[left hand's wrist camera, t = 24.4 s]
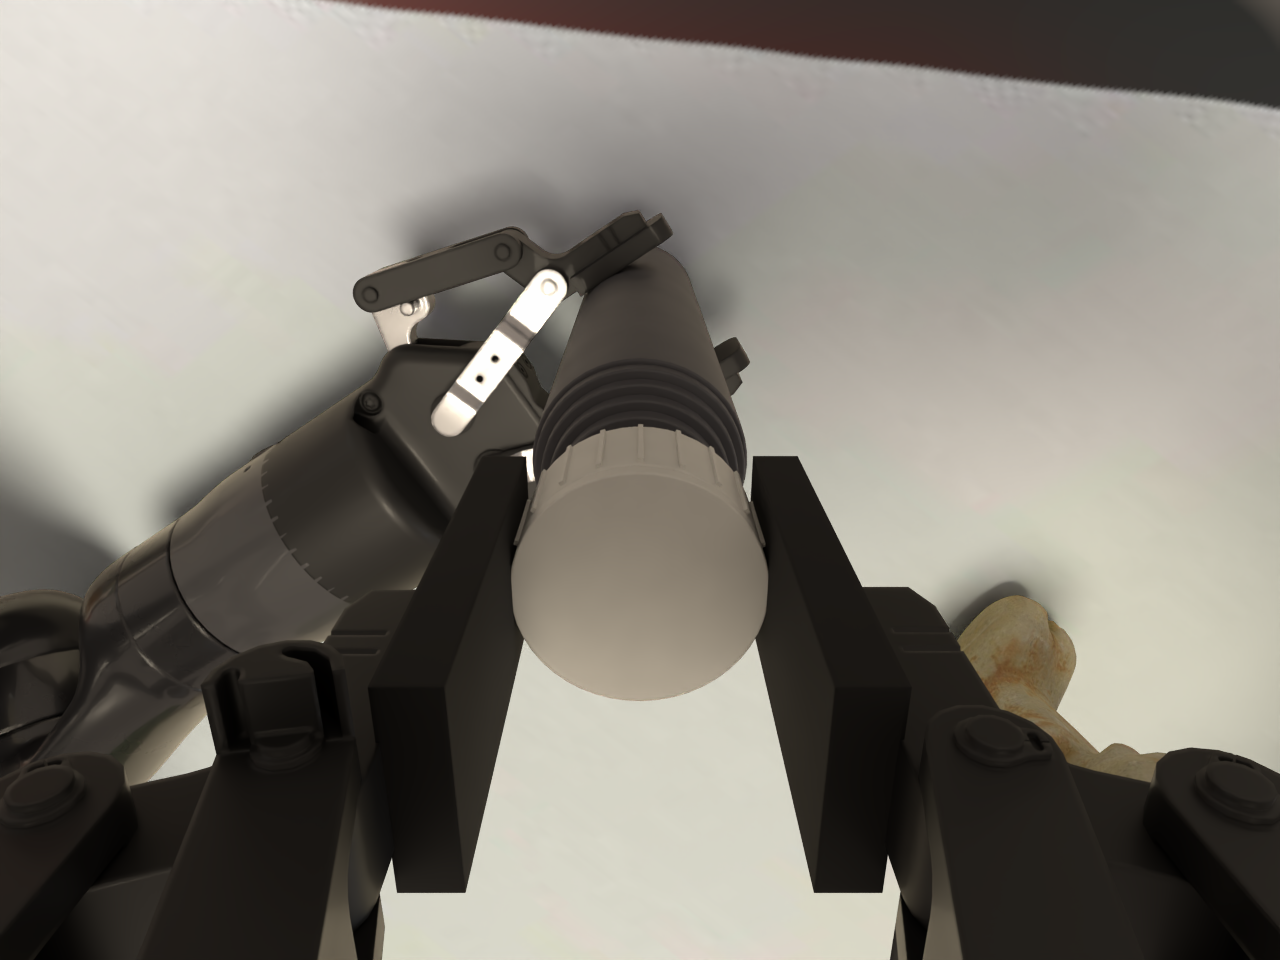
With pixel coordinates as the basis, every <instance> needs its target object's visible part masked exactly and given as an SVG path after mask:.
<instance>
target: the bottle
mask: <svg viewBox="0 0 1280 960" xmlns="http://www.w3.org/2000/svg"><path fill="white" fill-rule="evenodd" d="M638 424H643V427H654V428H660V429H666V430H670V431H674V432H675V431H676V430H680V431H681V434H683V435H686V436H688V437H690V438H692V439H694V440H697V441H698V442H700V443H702V444H703V445H705V446H706V447H708V448H709V446H712V447H713V448H714V450H715V453H716V454H717V455H718V456H720V457H721V458H722V459H723V460H724V461H725V463H726V464H727V465H728V466H729V467H730V468H731V469H732V471H733V472H735V471H737V472H738V473H739V476H740V479H741V482H742V486H743V483H744V480H745V474H746V467H747V450H746V443H745V437H744V434H743V430H742V427H741V424H740V421H739V418H738V415H737V412H736V410H735V407H734V404H733V401H732V398H731V396H730V393H729V390H728V387H727V384H726V381H725V379H724V376H723V373H722V370H721V367H720V364H719V362H718V359H717V356H716V353H715V350H714V347H713V345H712V342H711V339H710V336H709V333H708V330H707V328H706V325H705V322H704V319H703V316H702V313H701V311H700V308H699V305H698V302H697V299H696V297H695V294H694V291H693V288H692V285H691V282H690V280H689V277H688V275H687V273H686V271H685V270H684V268H683V266H682V265H681V264H680V263H679V262H678V261H677V260H676V259H675V258H674V257H673V256H672V255H670V254H669V253H668V252H666V251H664V250H662V249H659V248H657V247H655V248H654V249H652V250H651V251H649V252H648V253H646V254H645V255H643V256H642V257H640V258H638V259H637V260H635V261H634V262H632V263H631V264H629V265H628V266H626V267H625V268H623V269H622V270H620V271H619V272H617V273H616V274H614V275H613V276H611V277H610V278H608V279H606V280H605V281H603V282H602V283H600V284H599V285H598V286H596V287H595V288H593V289H592V290H590V291H589V292H587V293H586V294H585V295H584V298H583V301H582V304H581V307H580V309H579V312H578V315H577V318H576V321H575V324H574V326H573V329H572V332H571V335H570V338H569V340H568V343H567V346H566V349H565V352H564V355H563V357H562V360H561V363H560V366H559V369H558V372H557V374H556V377H555V380H554V383H553V386H552V388H551V391H550V394H549V397H548V400H547V403H546V405H545V408H544V411H543V414H542V417H541V419H540V422H539V425H538V428H537V431H536V434H535V439H534V445H533V458H532V463H533V473H534V478H535V482H536V486H537V485H538V482H539V479H540V475H541V472H542V471H543V470H544V469H545V470H546V471H547V470H548V468H549V467H550V466H551V465H552V464H553V463H554V462H555V460H557V459H558V458H559V457H560V456H561V455H562V454H563V453H565V452H566V448H567V447H568V446H569V445H571V446H572V447H573V446H574V445H576V444H577V443H579V442H581V441H583V440H585V439H587V438H589V437H591V436H594V435H596V434H599V433H600V430H603V429H605V430H606V431H609V430H614V429H619V428H626V427H638Z"/></svg>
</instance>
